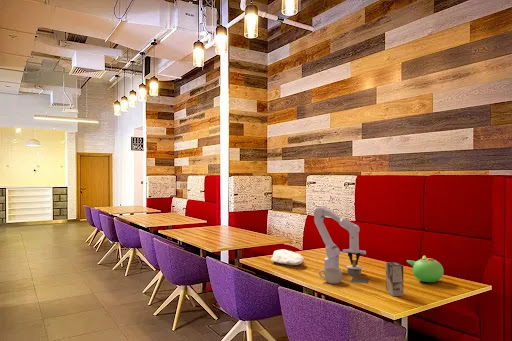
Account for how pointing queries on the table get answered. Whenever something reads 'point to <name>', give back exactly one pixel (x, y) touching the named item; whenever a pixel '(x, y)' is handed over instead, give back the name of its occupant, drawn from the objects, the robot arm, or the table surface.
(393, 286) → the coffee box
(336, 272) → the teacup
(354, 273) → the bowl
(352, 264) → the lid
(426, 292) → the table surface
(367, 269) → the table surface
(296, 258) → the crumpled cloth
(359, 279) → the mat
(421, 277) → the green teapot
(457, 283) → the table surface
